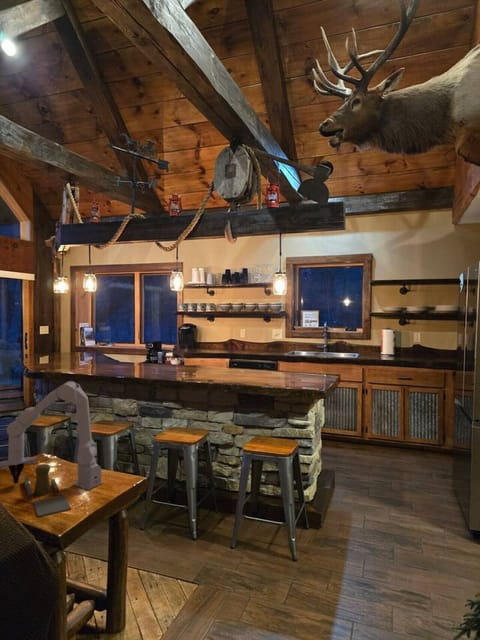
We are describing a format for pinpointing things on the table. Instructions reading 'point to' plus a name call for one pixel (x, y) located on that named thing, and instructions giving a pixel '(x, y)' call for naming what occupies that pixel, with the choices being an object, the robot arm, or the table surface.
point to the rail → (55, 487)
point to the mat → (51, 505)
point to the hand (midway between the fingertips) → (15, 482)
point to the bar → (28, 487)
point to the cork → (42, 480)
